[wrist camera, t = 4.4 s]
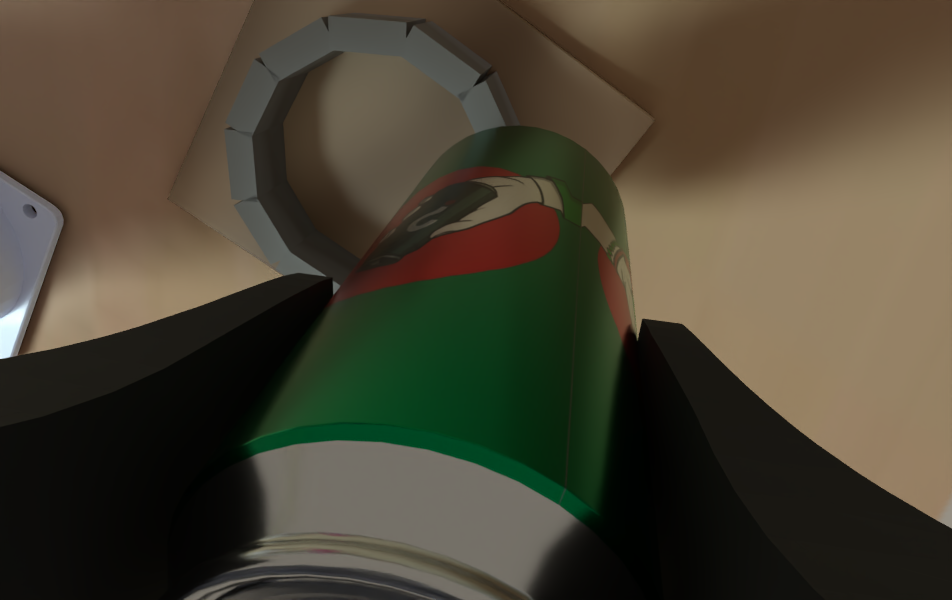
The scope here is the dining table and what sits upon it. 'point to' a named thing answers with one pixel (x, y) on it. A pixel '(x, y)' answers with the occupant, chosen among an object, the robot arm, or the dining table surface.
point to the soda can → (449, 408)
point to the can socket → (373, 118)
